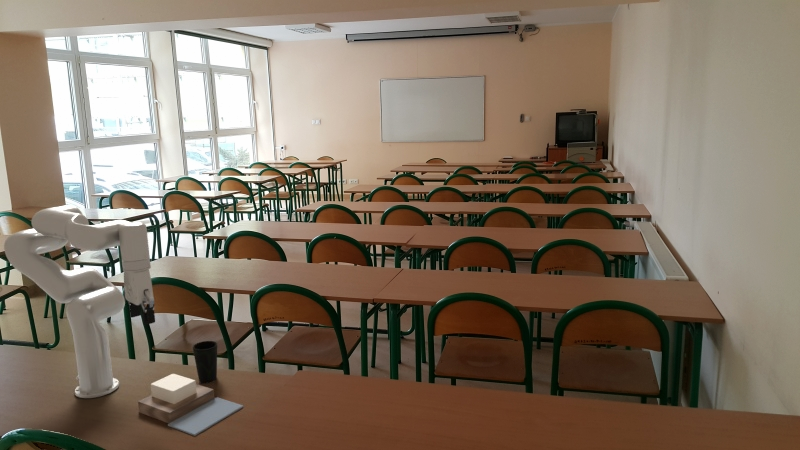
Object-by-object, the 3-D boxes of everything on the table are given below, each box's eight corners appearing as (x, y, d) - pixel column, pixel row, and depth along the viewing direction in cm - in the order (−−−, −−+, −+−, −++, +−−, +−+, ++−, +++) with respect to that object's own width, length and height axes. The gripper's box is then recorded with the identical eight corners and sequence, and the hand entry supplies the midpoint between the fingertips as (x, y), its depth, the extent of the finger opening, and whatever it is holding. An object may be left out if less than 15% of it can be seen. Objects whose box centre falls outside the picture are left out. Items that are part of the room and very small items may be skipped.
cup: (212, 385, 187) (209, 350, 184) (191, 383, 188) (187, 349, 186) (224, 375, 194) (221, 341, 192) (203, 373, 196) (200, 340, 193)
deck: (139, 412, 170) (137, 401, 170) (183, 389, 184) (182, 379, 183) (170, 424, 164) (169, 412, 163) (214, 400, 177) (213, 389, 176)
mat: (167, 425, 163) (167, 424, 163) (217, 398, 178) (217, 397, 178) (194, 436, 157) (194, 434, 157) (243, 407, 172) (243, 405, 172)
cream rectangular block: (151, 396, 173) (150, 383, 172) (174, 385, 179) (173, 373, 179) (174, 404, 168) (173, 391, 167) (196, 392, 175) (195, 380, 174)
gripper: (112, 262, 173) (118, 316, 176) (135, 272, 161) (142, 330, 164) (137, 257, 178) (143, 310, 182) (161, 266, 167) (167, 323, 170)
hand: (142, 319), depth 173 cm, fingers open, 9 cm apart
